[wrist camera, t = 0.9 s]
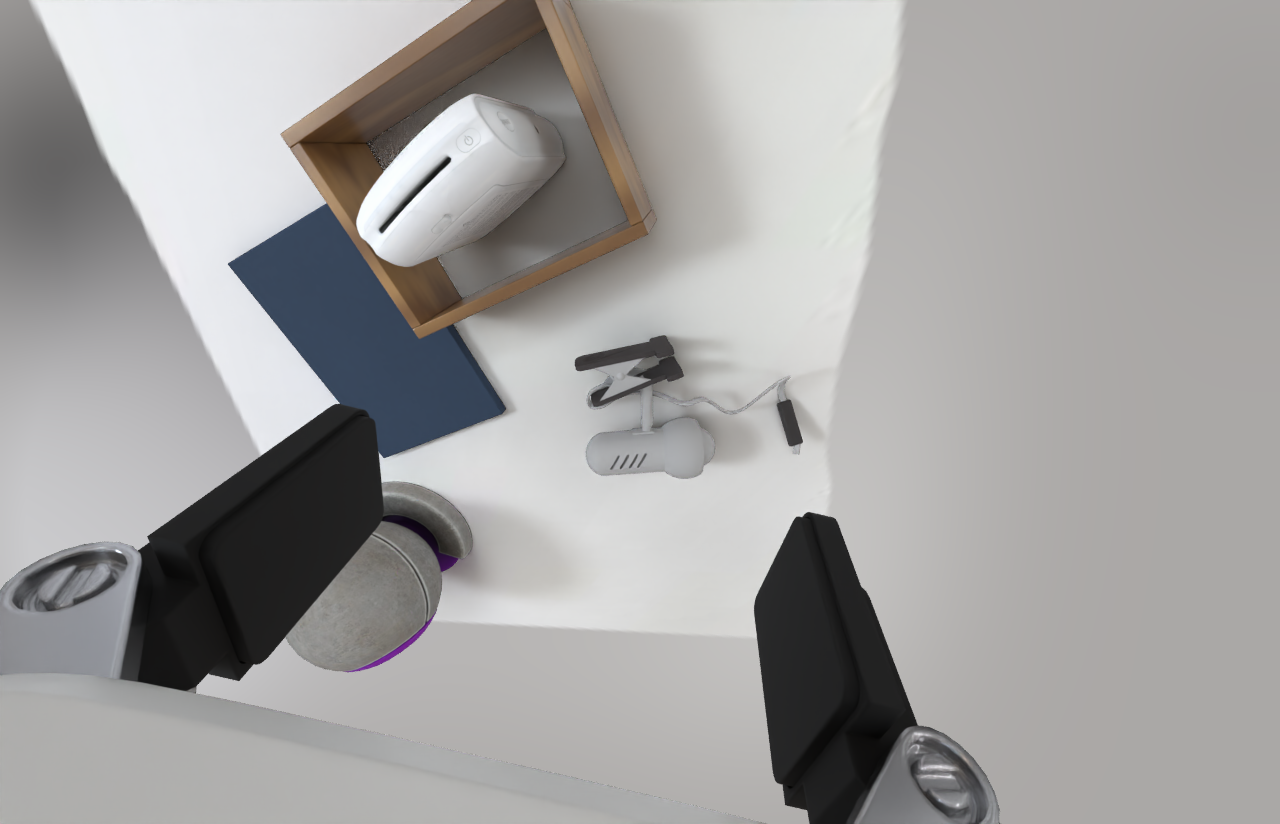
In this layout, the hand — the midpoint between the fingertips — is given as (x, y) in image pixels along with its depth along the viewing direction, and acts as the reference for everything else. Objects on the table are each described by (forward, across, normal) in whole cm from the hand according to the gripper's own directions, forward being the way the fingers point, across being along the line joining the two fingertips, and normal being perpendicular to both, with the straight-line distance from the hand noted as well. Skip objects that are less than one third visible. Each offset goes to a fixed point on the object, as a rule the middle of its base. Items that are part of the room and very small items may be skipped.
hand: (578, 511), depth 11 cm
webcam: (+28, +20, +34) cm, 49 cm away
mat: (+28, +22, +12) cm, 38 cm away
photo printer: (+28, +12, -3) cm, 31 cm away
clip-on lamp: (+28, -5, +11) cm, 31 cm away
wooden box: (+28, +12, -3) cm, 31 cm away
